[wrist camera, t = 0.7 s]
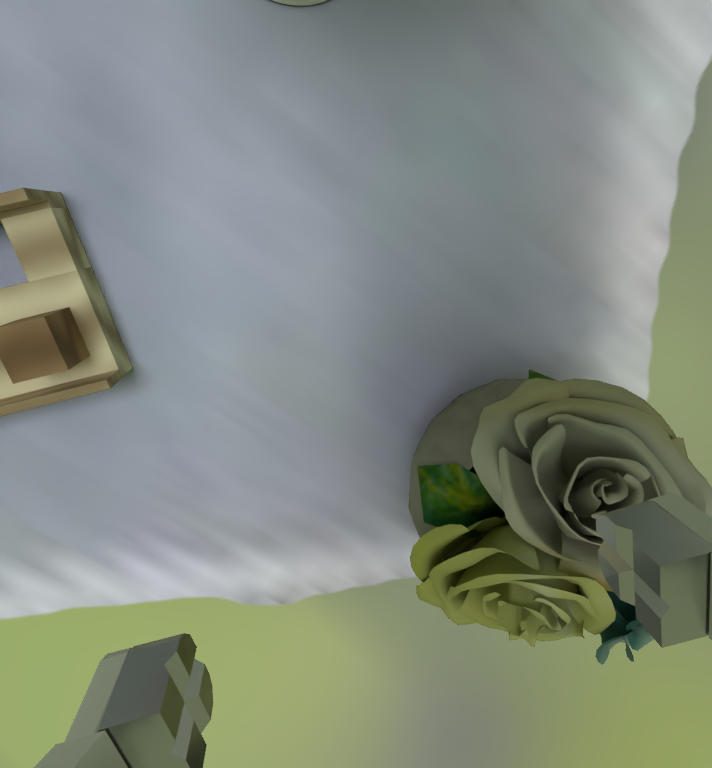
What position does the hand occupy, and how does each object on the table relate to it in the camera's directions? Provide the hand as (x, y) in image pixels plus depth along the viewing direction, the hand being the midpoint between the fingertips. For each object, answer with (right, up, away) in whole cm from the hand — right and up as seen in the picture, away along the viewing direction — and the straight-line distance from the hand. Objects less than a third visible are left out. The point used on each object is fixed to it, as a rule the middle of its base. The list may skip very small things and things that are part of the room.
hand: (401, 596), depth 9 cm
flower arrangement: (+13, -3, +44) cm, 46 cm away
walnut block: (-27, +8, +32) cm, 43 cm away
